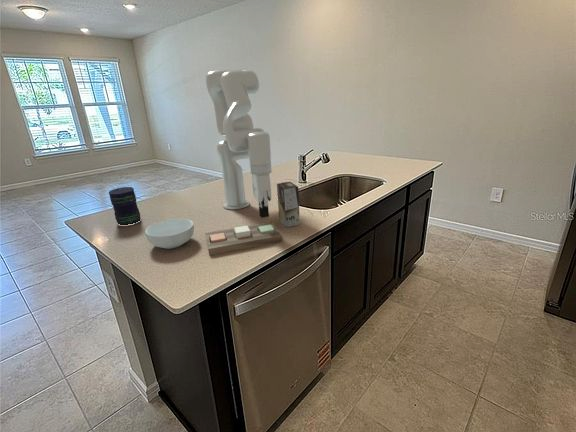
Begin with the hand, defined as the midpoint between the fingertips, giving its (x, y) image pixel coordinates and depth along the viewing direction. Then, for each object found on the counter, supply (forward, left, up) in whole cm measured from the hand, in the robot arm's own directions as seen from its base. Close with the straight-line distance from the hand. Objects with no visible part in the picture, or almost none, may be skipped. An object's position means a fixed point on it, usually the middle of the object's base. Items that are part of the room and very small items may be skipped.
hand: (264, 216), depth 116 cm
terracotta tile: (+1, -18, -7) cm, 19 cm away
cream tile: (+1, -9, -6) cm, 11 cm away
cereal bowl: (-7, -34, -8) cm, 36 cm away
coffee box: (-8, +12, -8) cm, 17 cm away
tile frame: (+1, -9, -8) cm, 12 cm away
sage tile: (+1, 0, -7) cm, 7 cm away
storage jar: (-38, -53, -8) cm, 66 cm away
